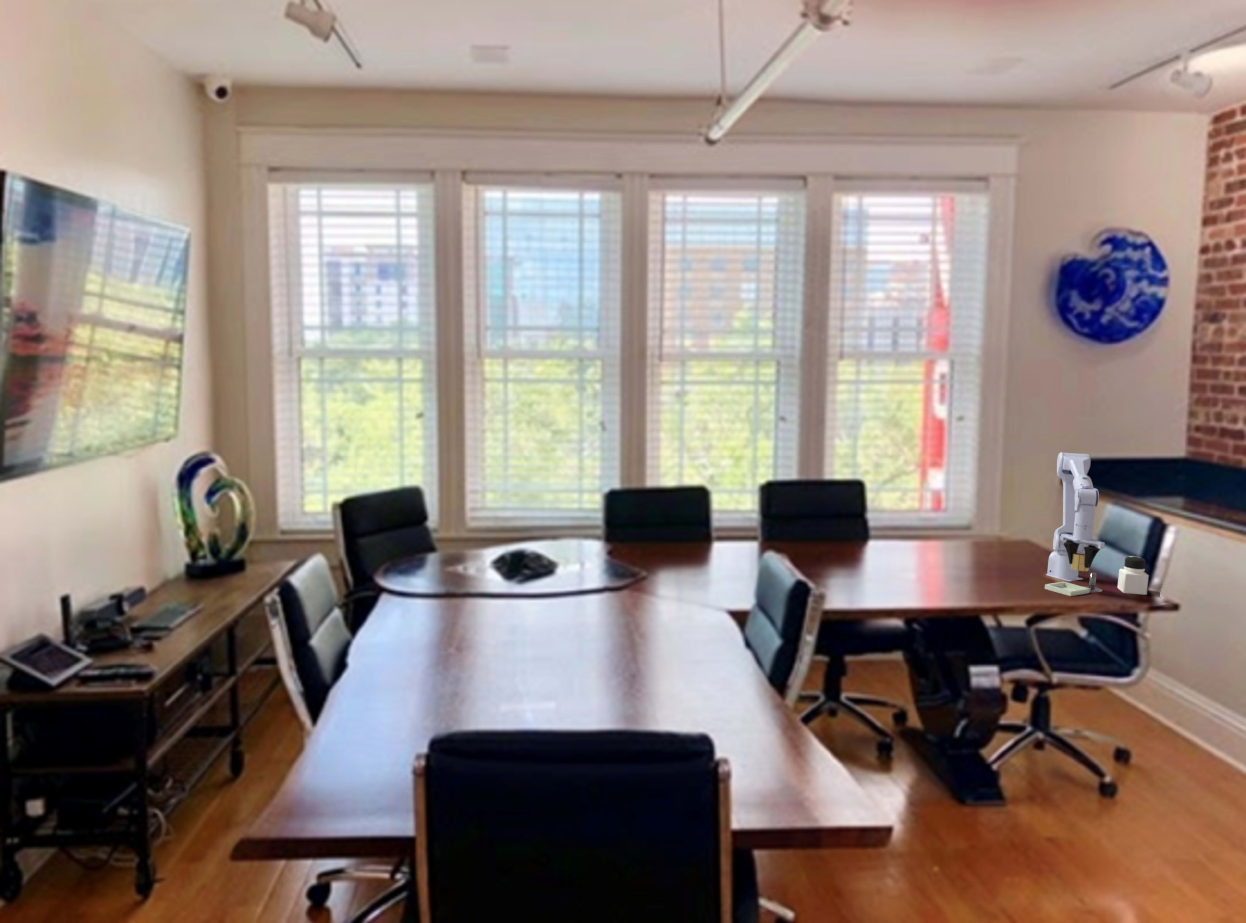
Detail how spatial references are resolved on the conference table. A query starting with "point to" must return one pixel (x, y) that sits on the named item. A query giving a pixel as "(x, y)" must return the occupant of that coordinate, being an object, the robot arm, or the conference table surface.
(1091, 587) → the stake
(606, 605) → the conference table surface
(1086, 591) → the tray
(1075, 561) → the collar
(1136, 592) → the medicine bottle
